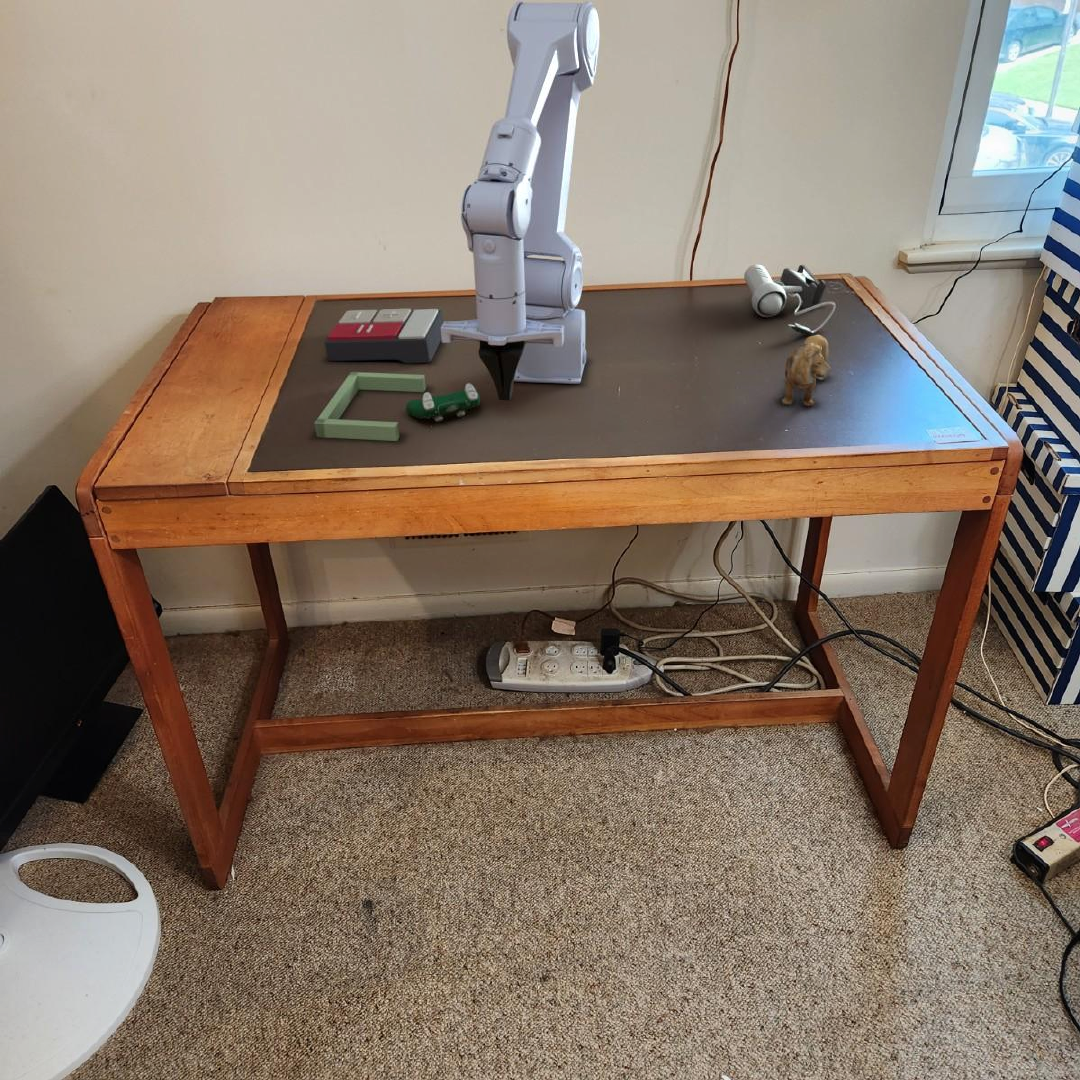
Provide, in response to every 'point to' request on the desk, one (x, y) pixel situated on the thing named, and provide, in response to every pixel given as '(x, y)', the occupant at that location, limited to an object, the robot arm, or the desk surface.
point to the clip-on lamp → (773, 297)
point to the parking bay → (365, 430)
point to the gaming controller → (444, 404)
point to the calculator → (386, 335)
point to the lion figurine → (806, 368)
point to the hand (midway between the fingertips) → (505, 396)
